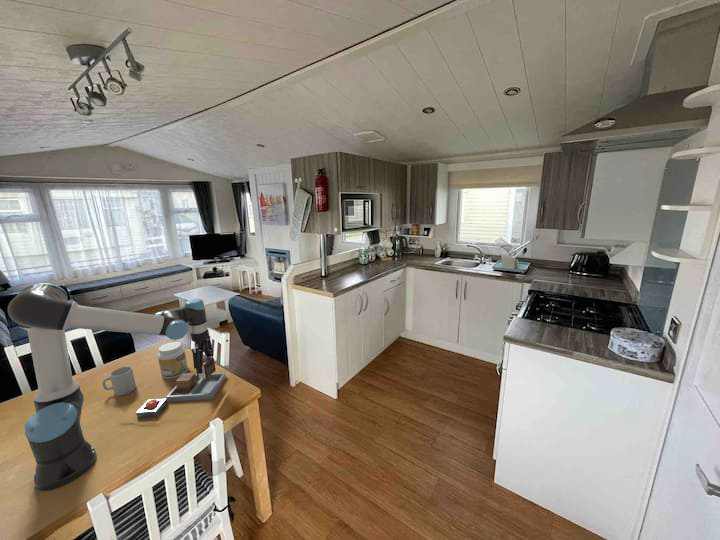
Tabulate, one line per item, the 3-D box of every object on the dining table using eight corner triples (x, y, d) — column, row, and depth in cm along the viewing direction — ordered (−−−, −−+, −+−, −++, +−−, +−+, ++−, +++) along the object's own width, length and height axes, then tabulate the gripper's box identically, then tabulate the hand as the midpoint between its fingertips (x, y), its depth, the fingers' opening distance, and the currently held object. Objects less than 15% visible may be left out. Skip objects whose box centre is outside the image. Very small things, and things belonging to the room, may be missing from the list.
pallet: (212, 401, 131) (211, 394, 130) (166, 403, 130) (165, 397, 129) (226, 378, 148) (225, 372, 147) (186, 381, 146) (184, 375, 145)
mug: (137, 382, 145) (133, 364, 143) (135, 391, 138) (130, 372, 136) (107, 391, 139) (102, 371, 136) (103, 400, 132) (98, 381, 129)
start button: (154, 413, 122) (153, 405, 121) (145, 413, 122) (143, 406, 121) (160, 406, 126) (158, 399, 125) (151, 407, 126) (149, 399, 125)
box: (206, 369, 140) (204, 356, 139) (216, 371, 139) (214, 358, 137) (196, 376, 135) (194, 362, 133) (206, 378, 133) (204, 364, 131)
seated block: (191, 392, 135) (188, 380, 134) (178, 393, 135) (175, 381, 133) (197, 384, 141) (195, 372, 139) (184, 385, 141) (182, 373, 139)
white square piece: (157, 418, 120) (155, 411, 120) (137, 420, 120) (136, 412, 119) (168, 405, 128) (166, 398, 127) (150, 407, 128) (148, 399, 127)
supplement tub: (185, 377, 149) (180, 349, 145) (159, 382, 145) (153, 354, 141) (190, 365, 160) (185, 339, 156) (165, 370, 156) (159, 343, 152)
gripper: (196, 340, 122) (204, 385, 127) (216, 321, 141) (222, 361, 147) (179, 341, 121) (187, 386, 127) (201, 322, 141) (208, 362, 146)
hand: (206, 373), depth 137 cm, fingers closed on box, 7 cm apart
